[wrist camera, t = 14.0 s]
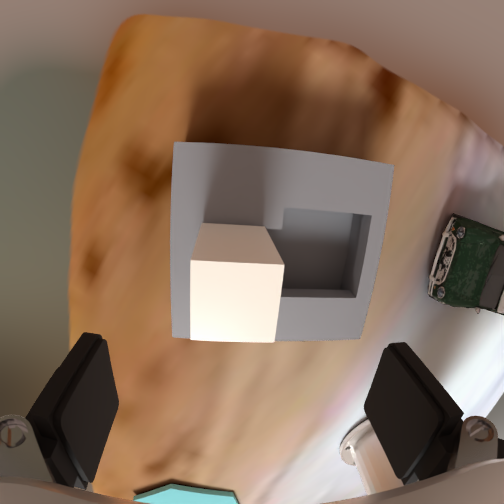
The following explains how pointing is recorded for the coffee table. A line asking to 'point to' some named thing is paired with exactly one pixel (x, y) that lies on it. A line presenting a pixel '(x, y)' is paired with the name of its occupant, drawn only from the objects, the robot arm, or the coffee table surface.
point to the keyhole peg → (234, 284)
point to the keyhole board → (286, 228)
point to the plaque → (186, 496)
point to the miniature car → (469, 267)
